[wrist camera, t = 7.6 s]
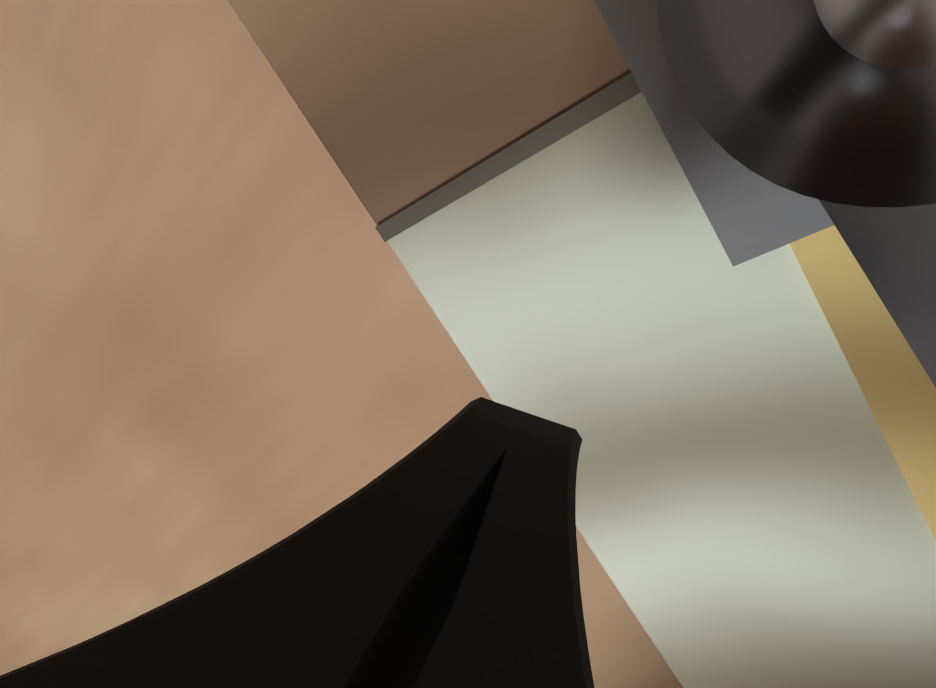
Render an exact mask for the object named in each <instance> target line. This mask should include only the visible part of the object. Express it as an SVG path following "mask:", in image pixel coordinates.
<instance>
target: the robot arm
mask: <svg viewBox="0 0 936 688" xmlns="http://www.w3.org/2000/svg"><path fill="white" fill-rule="evenodd" d="M581 443H582V438H581V437H580V435H579V433H578V432H577V430H576V429H574V428H571V427H568V426H565V425H562V424H559V423H556V422H553V421H550V420H547V419H544V418H541V417H538V416H535V415H532V414H529V413H526V412H523V411H520V410H518V409H515V408H512V407H509V406H506V405H503V404H500V403H497V402H494V401H491V400H488V399H485V398H482V397H480V398H478V399H476V400H473V401H471V402H470V403H469V404H468V405H467V406H466V407H464V408H463V409H462V410H461V411H460V412H459V413H458V414H457V415H456V416H454V417H453V418H452V419H451V420H450V421H449V422H448V423H446V424H445V425H444V426H443V427H442V428H440V429H439V430H438V431H437V432H436V433H434V434H433V435H432V436H431V437H430V438H428V439H427V440H426V441H424V442H423V443H422V444H421V445H419V446H418V447H417V448H416V449H414V450H413V451H412V452H411V453H409V454H408V455H407V456H405V457H404V458H403V459H401V460H400V461H399V462H397V463H396V464H395V465H393V466H392V467H390V468H389V469H388V470H386V471H385V472H384V473H382V474H381V475H380V476H378V477H377V478H375V479H374V480H373V481H371V482H370V483H369V484H367V485H366V486H365V487H363V488H362V489H360V490H359V491H357V492H356V493H355V494H353V495H352V496H350V497H349V498H347V499H346V500H344V501H343V502H341V503H339V504H338V505H336V506H335V507H333V508H332V509H330V510H329V511H327V512H326V513H324V514H323V515H321V516H319V517H318V518H316V519H315V520H313V521H312V522H310V523H309V524H307V525H306V526H304V527H303V528H301V529H299V530H298V531H296V532H295V533H293V534H292V535H290V536H288V537H287V538H285V539H283V540H282V541H280V542H278V543H277V544H275V545H273V546H271V547H270V548H268V549H266V550H265V551H263V552H261V553H260V554H258V555H256V556H254V557H252V558H251V559H249V560H247V561H245V562H244V563H242V564H240V565H238V566H236V567H234V568H233V569H231V570H229V571H227V572H225V573H223V574H222V575H220V576H218V577H216V578H214V579H212V580H211V581H209V582H207V583H205V584H203V585H201V586H199V587H197V588H195V589H193V590H191V591H189V592H187V593H185V594H183V595H181V596H179V597H177V598H175V599H173V600H171V601H169V602H167V603H165V604H163V605H161V606H159V607H157V608H155V609H152V610H150V611H148V612H146V613H144V614H142V615H140V616H138V617H136V618H134V619H132V620H130V621H128V622H126V623H124V624H121V625H119V626H117V627H115V628H113V629H111V630H108V631H106V632H104V633H102V634H100V635H97V636H95V637H93V638H91V639H88V640H86V641H84V642H82V643H79V644H77V645H75V646H72V647H70V648H67V649H65V650H62V651H60V652H58V653H55V654H53V655H50V656H48V657H45V658H43V659H40V660H38V661H36V662H33V663H31V664H28V665H26V666H23V667H21V668H18V669H16V670H13V671H11V672H9V673H6V674H4V675H1V676H0V688H594V683H593V677H592V671H591V665H590V659H589V652H588V645H587V638H586V631H585V624H584V617H583V609H582V600H581V591H580V581H579V567H578V554H577V541H576V475H577V464H578V458H579V451H580V447H581Z"/></svg>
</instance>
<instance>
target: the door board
mask: <svg viewBox="0 0 936 688" xmlns="http://www.w3.org/2000/svg"><path fill="white" fill-rule="evenodd" d="M228 1H229V3H230V4H231V6H232V7H233V9H234V10H235V12H236V13H237V15H238V16H239V18H240V19H241V21H242V22H243V24H244V25H245V27H246V28H247V30H248V31H249V33H250V34H251V36H252V37H253V39H254V40H255V42H256V43H257V45H258V46H259V48H260V50H261V51H262V53H263V54H264V56H265V57H266V59H267V60H268V62H269V63H270V65H271V66H272V68H273V69H274V71H275V72H276V74H277V75H278V77H279V78H280V80H281V81H282V83H283V84H284V86H285V87H286V89H287V90H288V92H289V93H290V95H291V96H292V98H293V99H294V101H295V102H296V104H297V105H298V107H299V108H300V110H301V111H302V113H303V114H304V116H305V117H306V119H307V120H308V122H309V124H310V125H311V127H312V128H313V130H314V131H315V133H316V134H317V136H318V137H319V139H320V140H321V142H322V143H323V145H324V146H325V148H326V149H327V151H328V152H329V154H330V155H331V157H332V158H333V160H334V161H335V163H336V164H337V166H338V167H339V169H340V170H341V172H342V173H343V175H344V176H345V178H346V179H347V181H348V182H349V184H350V185H351V187H352V188H353V190H354V191H355V193H356V194H357V196H358V197H359V199H360V201H361V202H362V204H363V205H364V207H365V208H366V210H367V211H368V213H369V214H370V216H371V217H372V219H373V220H374V222H375V223H376V225H377V227H375V228H376V229H377V231H378V232H379V234H380V235H381V237H382V238H383V240H384V241H385V242H386V241H388V243H389V244H390V246H391V247H392V249H393V250H394V252H395V253H396V255H397V256H398V258H399V259H400V261H401V262H402V264H403V265H404V267H405V268H406V270H407V271H408V273H409V275H410V276H411V278H412V279H413V281H414V282H415V284H416V285H417V287H418V288H419V290H420V291H421V293H422V294H423V296H424V297H425V299H426V300H427V302H428V303H429V305H430V306H431V308H432V309H433V311H434V312H435V314H436V315H437V317H438V318H439V320H440V321H441V323H442V324H443V326H444V327H445V329H446V330H447V332H448V333H449V335H450V336H451V338H452V339H453V341H454V342H455V344H456V345H457V347H458V348H459V350H460V352H461V353H462V355H463V356H464V358H465V359H466V361H467V362H468V364H469V365H470V367H471V368H472V370H473V371H474V373H475V374H476V376H477V377H478V379H479V380H480V382H481V383H482V385H483V386H484V388H485V389H486V391H487V392H488V394H489V395H490V397H491V398H492V400H493V401H494V402H497V403H500V404H503V405H506V406H509V407H512V408H515V409H518V410H520V411H523V412H526V413H529V414H532V415H535V416H538V417H541V418H544V419H547V420H550V421H553V422H556V423H559V424H562V425H565V426H568V427H571V428H574V429H576V430H577V432H578V433H579V435H580V437H581V438H582V443H581V447H580V451H579V458H578V464H577V475H576V527H577V528H578V530H579V531H580V533H581V534H582V536H583V537H584V539H585V540H586V542H587V543H588V545H589V546H590V548H591V549H592V551H593V552H594V554H595V555H596V557H597V558H598V560H599V561H600V563H601V564H602V566H603V567H604V569H605V570H606V572H607V573H608V575H609V577H610V578H611V580H612V581H613V583H614V584H615V586H616V587H617V589H618V590H619V592H620V593H621V595H622V596H623V598H624V599H625V601H626V602H627V604H628V605H629V607H630V608H631V610H632V611H633V613H634V614H635V616H636V617H637V619H638V620H639V622H640V623H641V625H642V626H643V628H644V629H645V631H646V632H647V634H648V635H649V637H650V638H651V640H652V641H653V643H654V644H655V646H656V647H657V649H658V650H659V652H660V654H661V655H662V657H663V658H664V660H665V661H666V663H667V664H668V666H669V667H670V669H671V670H672V672H673V673H674V675H675V676H676V678H677V679H678V681H679V682H680V684H681V685H682V687H683V688H936V388H935V386H934V384H933V383H932V381H931V380H930V378H929V376H928V375H927V373H926V371H925V370H924V368H923V367H922V365H921V363H920V362H919V360H918V359H917V357H916V355H915V354H914V352H913V351H912V349H911V347H910V346H909V344H908V342H907V341H906V339H905V338H904V336H903V334H902V333H901V331H900V330H899V328H898V326H897V325H896V323H895V322H894V320H893V318H892V317H891V315H890V314H889V312H888V310H887V309H886V307H885V305H884V304H883V302H882V301H881V299H880V297H879V296H878V294H877V293H876V291H875V289H874V288H873V286H872V285H871V283H870V281H869V280H868V278H867V277H866V275H865V273H864V272H863V270H862V268H861V267H860V265H859V264H858V262H857V260H856V259H855V257H854V256H853V254H852V252H851V251H850V249H849V248H848V246H847V244H846V243H845V241H844V239H843V238H842V236H841V235H840V233H839V231H838V230H837V228H836V227H835V225H834V223H833V222H832V220H831V219H830V217H829V215H828V214H827V212H826V211H825V209H824V207H823V206H822V204H821V202H820V201H819V199H815V198H812V197H808V196H804V195H801V194H798V193H796V192H793V191H791V190H788V189H786V188H783V187H781V186H778V185H776V184H774V183H772V182H770V181H768V180H767V179H765V178H763V177H761V176H759V175H758V174H756V173H754V172H752V171H751V170H749V169H748V168H747V167H745V166H744V165H743V164H741V163H740V162H739V161H737V160H736V159H735V158H733V157H732V156H731V155H729V154H728V153H727V152H726V151H725V150H724V149H723V148H722V147H721V146H720V145H719V144H718V143H717V142H716V141H715V140H714V139H713V138H712V137H711V136H710V135H709V134H708V133H707V131H706V130H705V129H704V127H703V126H702V125H701V124H700V122H699V121H698V120H697V118H696V117H695V116H694V114H693V113H692V112H691V110H690V108H689V106H688V104H687V103H686V101H685V99H684V97H683V95H682V94H681V92H680V90H679V88H678V86H677V84H676V81H675V79H674V76H673V73H672V71H671V68H670V66H669V63H668V60H667V58H666V53H665V49H664V45H663V41H662V36H661V32H660V28H659V18H658V9H657V0H228Z"/></svg>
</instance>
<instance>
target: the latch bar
mask: <svg viewBox="0 0 936 688" xmlns="http://www.w3.org/2000/svg"><path fill="white" fill-rule="evenodd" d="M657 9H658V18H659V28H660V32H661V36H662V41H663V45H664V49H665V53H666V58H667V60H668V63H669V66H670V68H671V71H672V73H673V76H674V79H675V81H676V84H677V86H678V88H679V90H680V92H681V94H682V95H683V97H684V99H685V101H686V103H687V104H688V106H689V108H690V110H691V112H692V113H693V114H694V116H695V117H696V118H697V120H698V121H699V122H700V124H701V125H702V126H703V127H704V129H705V130H706V131H707V133H708V134H709V135H710V136H711V137H712V138H713V139H714V140H715V141H716V142H717V143H718V144H719V145H720V146H721V147H722V148H723V149H724V150H725V151H726V152H727V153H728V154H729V155H731V156H732V157H733V158H735V159H736V160H737V161H739V162H740V163H741V164H743V165H744V166H745V167H747V168H748V169H749V170H751V171H752V172H754V173H756V174H758V175H759V176H761V177H763V178H765V179H767V180H768V181H770V182H772V183H774V184H776V185H778V186H781V187H783V188H786V189H788V190H791V191H793V192H796V193H798V194H801V195H804V196H808V197H812V198H815V199H819V201H820V202H821V204H822V206H823V207H824V209H825V211H826V212H827V214H828V215H829V217H830V219H831V220H832V222H833V223H834V225H835V227H836V228H837V230H838V231H839V233H840V235H841V236H842V238H843V239H844V241H845V243H846V244H847V246H848V248H849V249H850V251H851V252H852V254H853V256H854V257H855V259H856V260H857V262H858V264H859V265H860V267H861V268H862V270H863V272H864V273H865V275H866V277H867V278H868V280H869V281H870V283H871V285H872V286H873V288H874V289H875V291H876V293H877V294H878V296H879V297H880V299H881V301H882V302H883V304H884V305H885V307H886V309H887V310H888V312H889V314H890V315H891V317H892V318H893V320H894V322H895V323H896V325H897V326H898V328H899V330H900V331H901V333H902V334H903V336H904V338H905V339H906V341H907V342H908V344H909V346H910V347H911V349H912V351H913V352H914V354H915V355H916V357H917V359H918V360H919V362H920V363H921V365H922V367H923V368H924V370H925V371H926V373H927V375H928V376H929V378H930V380H931V381H932V383H933V384H934V386H935V388H936V0H657Z"/></svg>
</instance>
